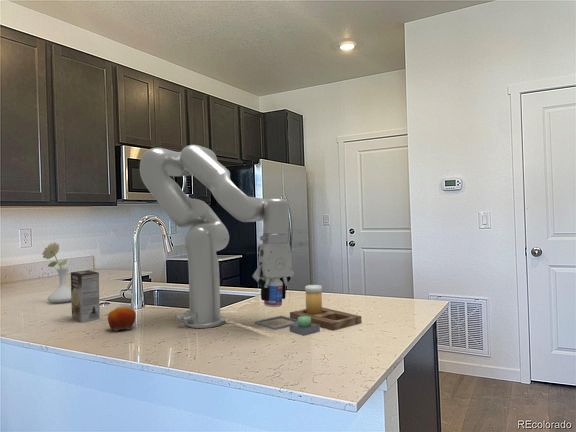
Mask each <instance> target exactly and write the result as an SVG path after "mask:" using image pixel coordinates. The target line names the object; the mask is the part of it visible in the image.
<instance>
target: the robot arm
mask: <svg viewBox="0 0 576 432" xmlns="http://www.w3.org/2000/svg"><path fill="white" fill-rule="evenodd" d="M139 175H140V179H141V181H142V183H143V184H144V186H145V187H146V189H147V190H148V191H149V192H150V193H151V195H152V196H153V197H154V199H155V200H156V201H157V203H158V204H159V205H160V207H161V208H162V209H163V211H164V212H165V213H166V214H167V216H168V217H169V219H170V220H171V222H173V224H174V225H175V226H177V227H179V228H189V229H188V230H187V232H186V234H185V236H184V245H185V249H186V250H185V251H186V256H187V265H188V267H187V268H188V291H189V292H188V295H189V296H188V297H189V309H186V312H184V313H183V314H177V315H175V316H174V320H175V322H184V325H185V326H186V327H187V328H191V329H192V328H193V329H206V328H213V327H218V326H222V325H224V324H225V323H226V317H225V316H222V315H221V291H220V289H221V288H220V287H221V286H220V285H221V283H220V265H219V258H218V255H217V252H219V251H222V250H223V249H226V247H227V246H228V244H229V241H230V234H229V231H228V229H227V227H226V225H225V223H223V222H222V220H221V219H220V218H219V217H218V215H217V214H216V213H215V212H214V210H213V209H212V208H211V206H209V204H208V203H206V202H205V201H204V200H201V199H198V198H191V197H189V196H188V195H187V194H186V193H185V192H184V191H183V190H182V188H181V186H180V185H179V183H177V182H176V181H175V180H173V178H171V177H185V176H186V177H187V176H193V177H194V178H196V179H197V180H198V181H199V182H200V183H201V184H203V186H205V187H206V188H207V189H208V190H209V191H210V192H211V194H212V196H213V198H214V200H216V202H217V203H218V204H219V206H221V207H222V208H223V209H224V210H225V211H226V212H227V213H229V214H230V215H231V216H232V217H233V218H234V219H236V220H238V221H239V222H242V223H255V222H263V225H262V227H263V228H262V235H261V236H260V237H259V240H260V241H262V243H261V244H260V248H259V252H258V260H257V268H256V270H255V271H254V272H253V274H252V276H251V277H252V278H253V279H254V280H255V281H256V283H258V286H259V287H260V299H261V300H262V301H263V302H264V301H269V288H268V284H269V281H270V278H280V280H281V281H282V282H283V290H282V300H285V299H286V292H287V291H286V290H287V286H288V285H289V282H290V280H292V279H291V278H293V276H294V275H295V271H294V270H293V262H292V261H293V260H292V250H291V245H290V243H289V242H288V239H289V238H288V237H289V216H290V215H289V214H290V213H289V210H290V203H289V200H288V199H286V198H262V197H255V196H248V195H247V194H245V193H244V191H242V190H241V189H240V188H239V187H238V186H236V184H235V183H234V182H233V180H231V172H230V170H229V169H228V168H226V166H224V165H223V164H222V163H220V161H218V158H217V155H216V154H215V152H214V151H213V150H211V149H210V148H209V147H208V148H207V147H205V146H201V145H198V144H189V145H186V146H184V148H183V149H181V151H176V150H171V149H166V148H162V147H152V148H150V149H147V150H146V151H145V152H144V153H143V154H142V155H141V158H140V161H139Z"/></svg>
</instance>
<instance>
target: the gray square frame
mask: <svg viewBox="0 0 576 432" xmlns="http://www.w3.org/2000/svg"><path fill="white" fill-rule="evenodd" d="M279 319H280V320H281V319H283V320H286V321H289V322H290V323H286V324H282V325H279V326H278V325H277V326H274V325H270V324H268V323H267V322H269V321H275V320H279ZM265 322H266V323H265ZM254 323H255V324H256V325H259V326H262V327H265V328H269V329H271V330H274V331H276V330H277V331H278V330H279V329H285V328H290V326H289V325H290V324H294V323H298V320H296V319H292V318H290V316H289V317H288V316H285V315H277V316H274V317H268V318H264V319H259V320H255V321H254Z"/></svg>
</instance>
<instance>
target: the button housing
mask: <svg viewBox="0 0 576 432" xmlns="http://www.w3.org/2000/svg"><path fill="white" fill-rule="evenodd" d="M293 323H294V322H293ZM289 324H290V323H289ZM289 326H290V327H289V332H291V333H294V334H298V335H300V336H307V335H310V334H312V335H313V334H315V333H318V332H320V331H321V327H320V325H319V324H315V323H312V322H311V325H310V326H299V325H298V323H294V324H290V325H289Z"/></svg>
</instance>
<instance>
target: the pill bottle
mask: <svg viewBox="0 0 576 432" xmlns="http://www.w3.org/2000/svg"><path fill="white" fill-rule="evenodd" d="M268 288H269V301H264V300H263V304H264V306H265V307H268V308H278V307H282V305H283V299H282V290H283V282H282V281H281V280H280V278H270V281H269V284H268Z"/></svg>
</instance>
